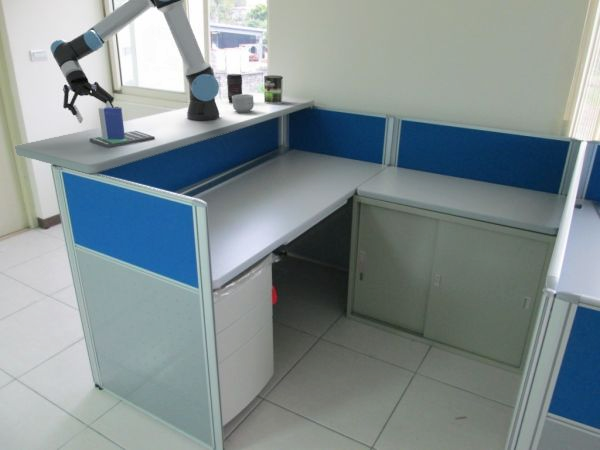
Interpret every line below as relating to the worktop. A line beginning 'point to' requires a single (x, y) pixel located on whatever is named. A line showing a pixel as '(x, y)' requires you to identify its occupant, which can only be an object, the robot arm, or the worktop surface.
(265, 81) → the coffee can
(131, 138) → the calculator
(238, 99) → the teacup
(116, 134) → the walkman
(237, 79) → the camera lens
